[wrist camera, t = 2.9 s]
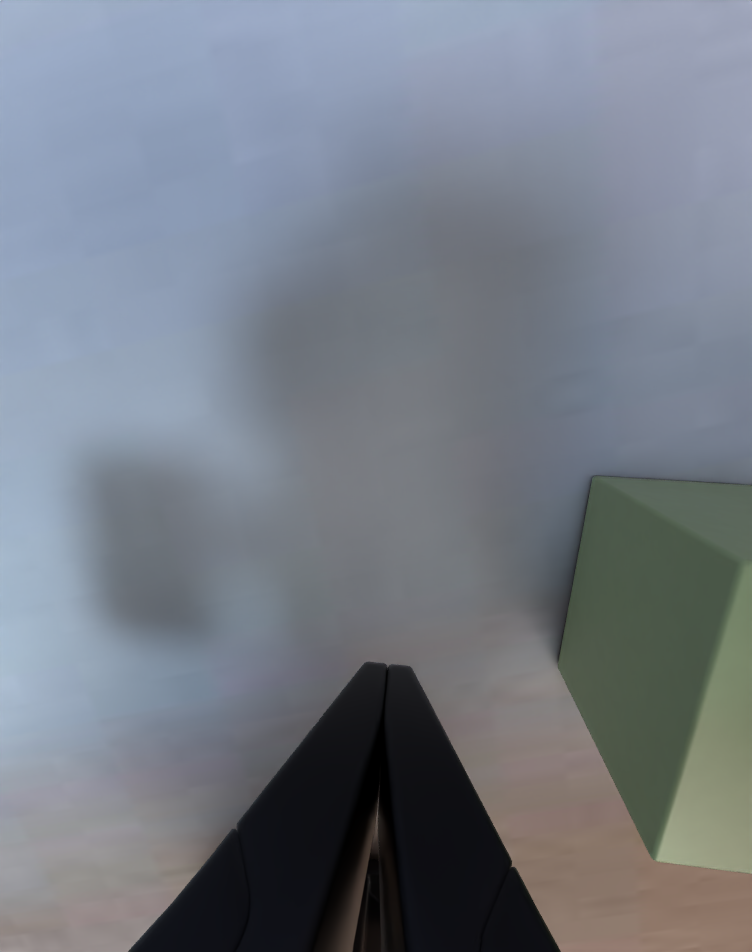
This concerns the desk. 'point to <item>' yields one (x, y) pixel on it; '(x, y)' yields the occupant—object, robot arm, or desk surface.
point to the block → (669, 660)
